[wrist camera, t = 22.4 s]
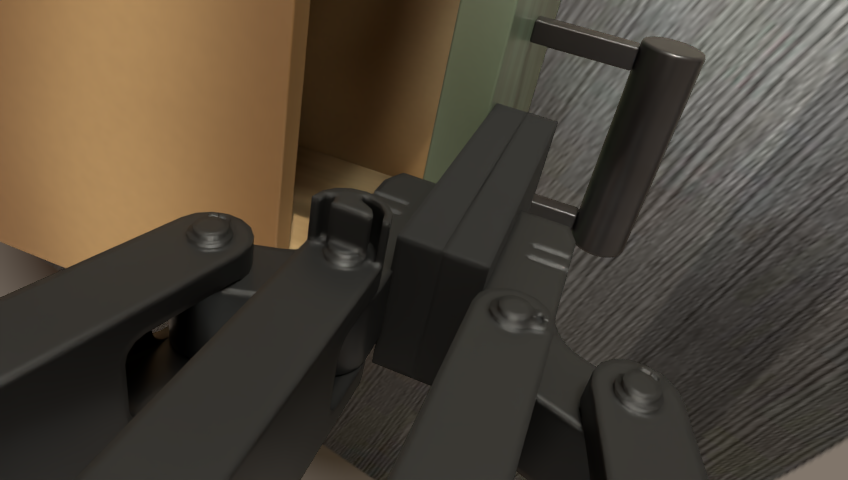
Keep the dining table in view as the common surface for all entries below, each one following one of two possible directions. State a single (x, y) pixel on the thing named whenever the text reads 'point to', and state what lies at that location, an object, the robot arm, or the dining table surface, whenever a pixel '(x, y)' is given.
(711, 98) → the dining table surface
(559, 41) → the drawer
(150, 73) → the cabinet
